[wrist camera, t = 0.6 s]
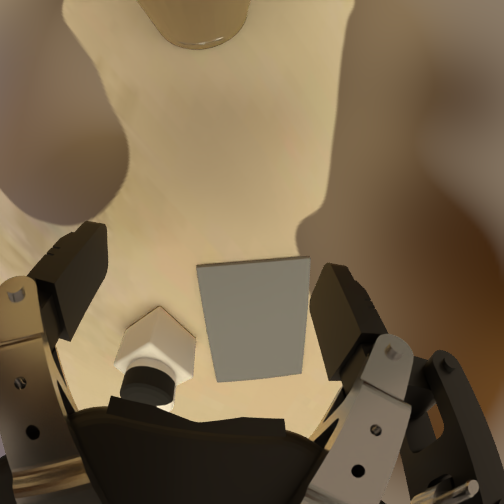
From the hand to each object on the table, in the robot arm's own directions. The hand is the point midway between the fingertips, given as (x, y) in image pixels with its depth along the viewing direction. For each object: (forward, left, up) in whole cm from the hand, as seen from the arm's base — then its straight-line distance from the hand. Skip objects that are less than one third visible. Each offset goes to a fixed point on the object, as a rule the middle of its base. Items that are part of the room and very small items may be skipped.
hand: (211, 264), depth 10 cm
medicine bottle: (+20, -10, -20) cm, 30 cm away
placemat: (+20, +3, -20) cm, 29 cm away
